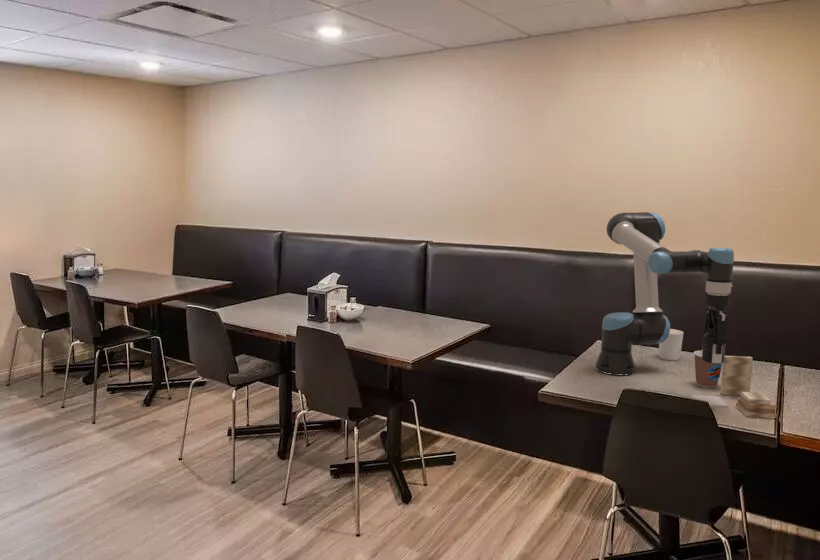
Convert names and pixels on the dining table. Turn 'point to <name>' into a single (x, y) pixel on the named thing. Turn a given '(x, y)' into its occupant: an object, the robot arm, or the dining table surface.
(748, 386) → the set of wooden blocks
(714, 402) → the grey pad
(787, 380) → the dining table surface
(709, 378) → the coffee cup
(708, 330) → the supplement bottle
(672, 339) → the white paper cup
